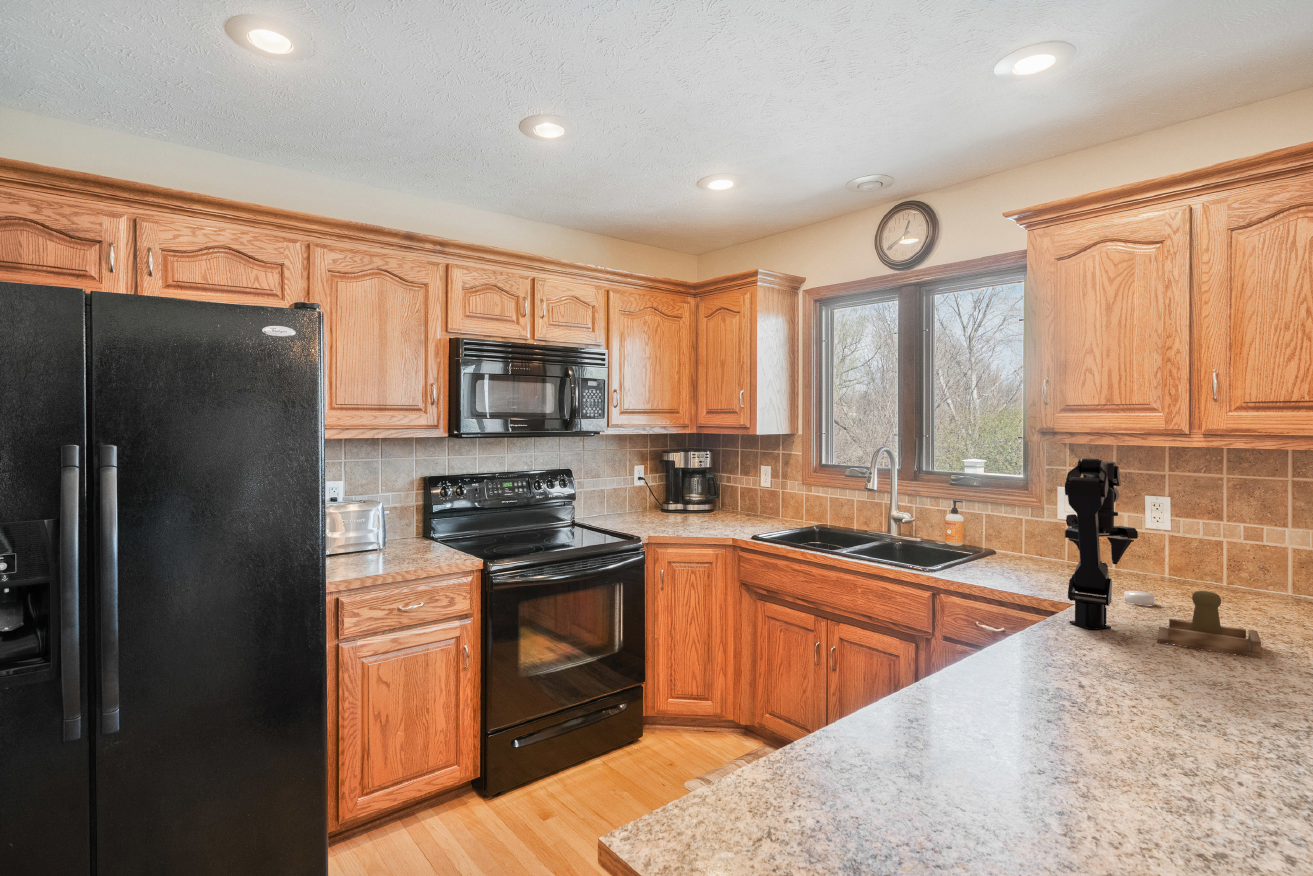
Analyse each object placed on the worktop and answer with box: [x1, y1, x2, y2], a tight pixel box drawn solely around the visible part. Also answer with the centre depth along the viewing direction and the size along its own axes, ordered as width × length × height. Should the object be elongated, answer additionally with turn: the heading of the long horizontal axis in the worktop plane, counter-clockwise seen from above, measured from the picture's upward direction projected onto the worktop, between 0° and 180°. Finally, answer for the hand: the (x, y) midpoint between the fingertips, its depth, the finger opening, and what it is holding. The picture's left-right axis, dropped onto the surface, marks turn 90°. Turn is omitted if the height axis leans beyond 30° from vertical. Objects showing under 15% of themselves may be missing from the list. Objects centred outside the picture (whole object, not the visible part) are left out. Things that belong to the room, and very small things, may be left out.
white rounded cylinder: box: [1123, 590, 1155, 605], centre depth 193 cm, size 7×7×3 cm
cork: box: [1191, 590, 1222, 635], centre depth 156 cm, size 6×6×11 cm
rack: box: [1156, 618, 1262, 660], centre depth 155 cm, size 18×12×4 cm, turn 52°
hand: (1100, 564), depth 183 cm, fingers open, 9 cm apart
